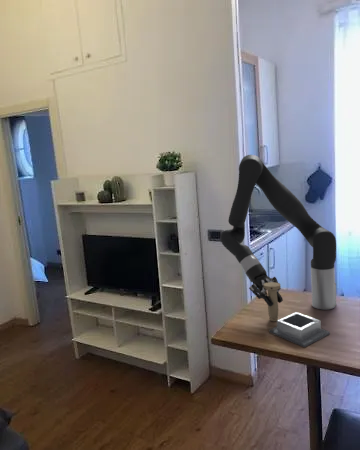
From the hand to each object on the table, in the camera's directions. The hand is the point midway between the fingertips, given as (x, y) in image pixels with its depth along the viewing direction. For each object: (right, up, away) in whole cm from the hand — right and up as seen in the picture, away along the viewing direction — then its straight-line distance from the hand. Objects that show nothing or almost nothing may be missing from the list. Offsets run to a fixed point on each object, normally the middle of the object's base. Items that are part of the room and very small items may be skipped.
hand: (276, 303), depth 152 cm
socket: (+6, -9, -10) cm, 14 cm away
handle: (0, -7, +3) cm, 8 cm away
